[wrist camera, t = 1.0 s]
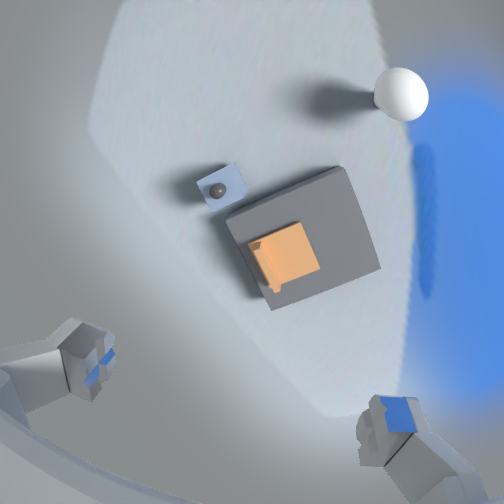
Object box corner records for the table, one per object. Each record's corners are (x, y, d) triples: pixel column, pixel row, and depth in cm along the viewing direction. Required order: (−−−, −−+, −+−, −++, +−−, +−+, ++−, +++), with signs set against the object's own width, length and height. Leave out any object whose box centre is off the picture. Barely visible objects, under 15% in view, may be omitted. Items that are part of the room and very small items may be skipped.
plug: (210, 173, 41) (192, 183, 33) (236, 160, 40) (224, 167, 32) (223, 200, 42) (208, 216, 34) (250, 187, 41) (241, 201, 33)
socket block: (230, 213, 43) (224, 221, 39) (339, 165, 39) (344, 168, 35) (273, 296, 47) (271, 310, 43) (373, 257, 43) (380, 268, 39)
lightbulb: (372, 129, 37) (400, 129, 26) (350, 88, 35) (372, 73, 25) (409, 113, 35) (446, 109, 25) (388, 72, 33) (420, 55, 23)
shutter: (248, 242, 40) (245, 251, 37) (300, 221, 38) (301, 228, 35) (270, 286, 41) (268, 297, 38) (320, 266, 40) (322, 277, 37)
